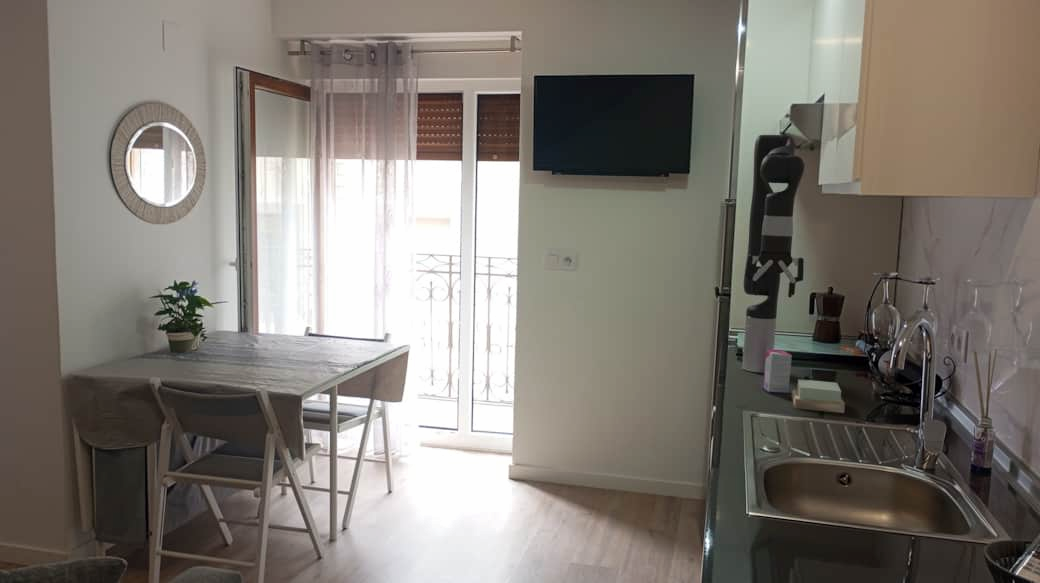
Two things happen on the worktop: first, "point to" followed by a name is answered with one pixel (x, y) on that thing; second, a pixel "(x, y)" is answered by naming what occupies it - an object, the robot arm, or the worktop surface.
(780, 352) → the supplement box
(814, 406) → the birch slab
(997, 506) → the worktop surface
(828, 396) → the sage slab
